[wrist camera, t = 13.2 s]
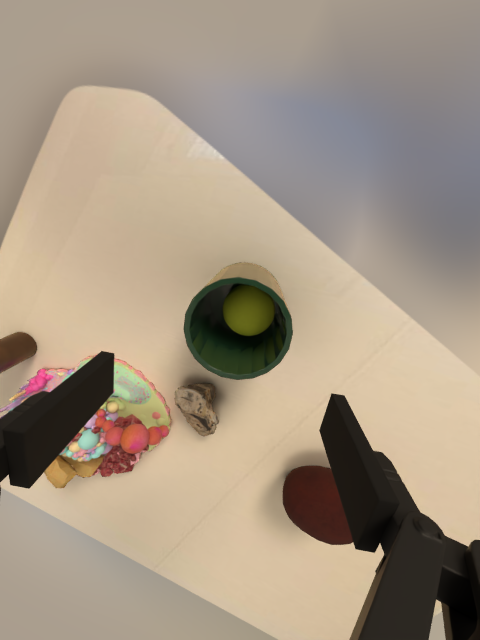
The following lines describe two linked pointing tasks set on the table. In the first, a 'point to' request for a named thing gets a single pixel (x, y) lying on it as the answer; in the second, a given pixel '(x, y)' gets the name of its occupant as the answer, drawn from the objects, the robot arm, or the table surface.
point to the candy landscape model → (106, 424)
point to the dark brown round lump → (316, 504)
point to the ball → (248, 310)
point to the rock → (198, 407)
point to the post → (15, 349)
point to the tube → (225, 344)
